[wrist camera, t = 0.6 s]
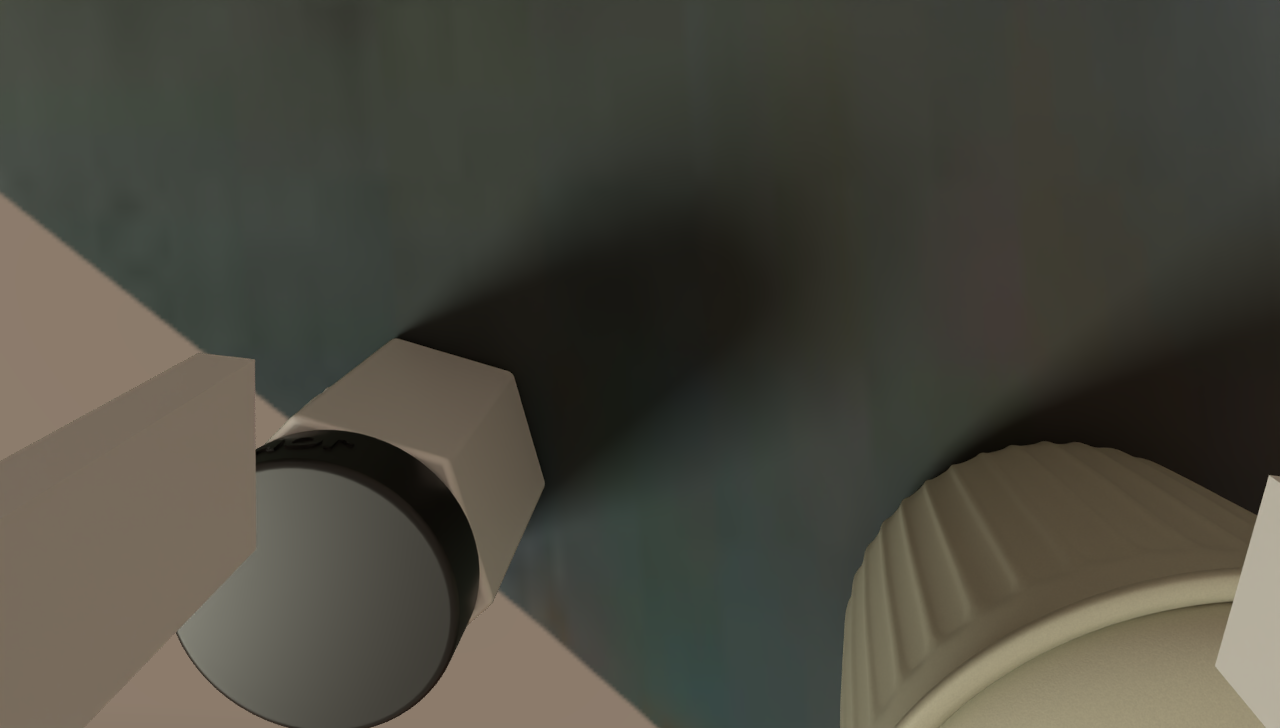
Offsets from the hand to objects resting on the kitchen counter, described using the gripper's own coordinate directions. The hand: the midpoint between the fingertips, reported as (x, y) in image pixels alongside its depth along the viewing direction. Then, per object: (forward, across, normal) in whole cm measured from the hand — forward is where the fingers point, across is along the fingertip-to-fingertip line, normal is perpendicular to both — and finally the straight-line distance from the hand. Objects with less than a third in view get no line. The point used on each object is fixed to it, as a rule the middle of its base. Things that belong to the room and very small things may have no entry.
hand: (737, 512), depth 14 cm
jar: (+24, -10, -9) cm, 27 cm away
